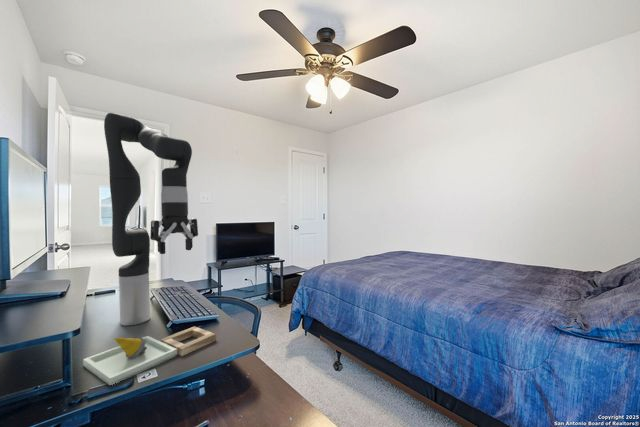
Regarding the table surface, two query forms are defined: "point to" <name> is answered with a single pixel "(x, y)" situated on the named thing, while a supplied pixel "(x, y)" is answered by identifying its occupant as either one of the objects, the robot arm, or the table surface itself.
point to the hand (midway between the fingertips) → (175, 251)
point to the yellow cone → (132, 346)
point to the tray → (128, 361)
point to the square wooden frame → (184, 349)
